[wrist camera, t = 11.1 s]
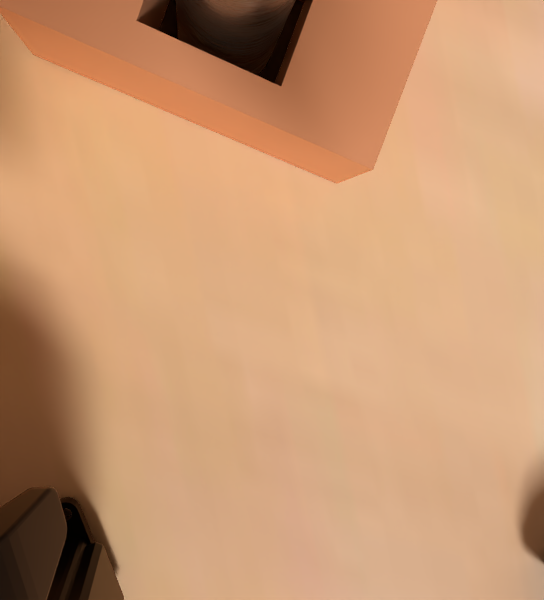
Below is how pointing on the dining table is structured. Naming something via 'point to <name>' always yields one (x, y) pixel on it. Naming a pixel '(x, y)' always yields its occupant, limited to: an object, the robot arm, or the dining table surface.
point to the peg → (234, 29)
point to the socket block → (242, 84)
